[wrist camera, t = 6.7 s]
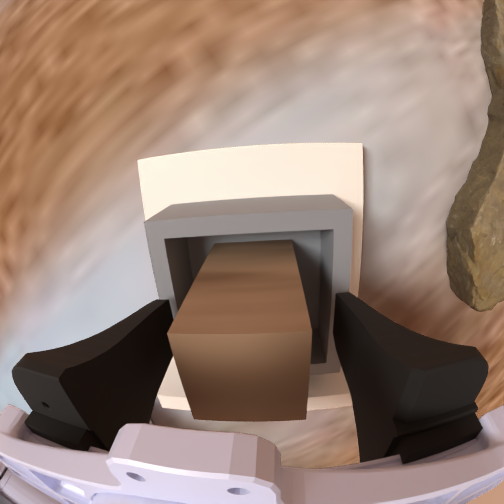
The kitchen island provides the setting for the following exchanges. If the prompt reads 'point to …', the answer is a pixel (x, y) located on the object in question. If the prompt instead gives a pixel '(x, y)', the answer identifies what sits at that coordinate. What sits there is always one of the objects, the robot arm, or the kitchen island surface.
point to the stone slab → (483, 190)
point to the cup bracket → (261, 232)
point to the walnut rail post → (245, 335)
